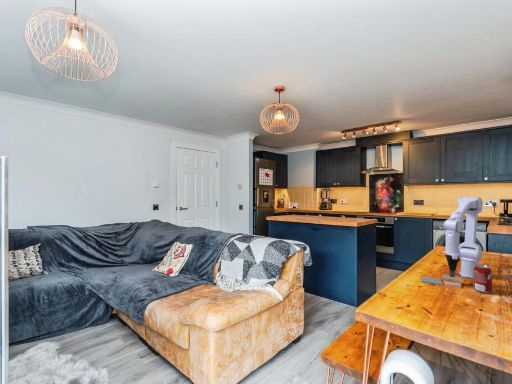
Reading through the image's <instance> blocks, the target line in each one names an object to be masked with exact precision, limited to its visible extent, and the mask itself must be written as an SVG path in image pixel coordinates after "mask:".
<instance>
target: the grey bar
mask: <svg viewBox="0 0 512 384" xmlns="http://www.w3.org/2000/svg"><path fill="white" fill-rule="evenodd" d="M441 277H442V279H444V280H446V279H447V280H451V281H458V282H462V281H463V277H462V276H458V275H456V270H455V271H450V270H449V274H443V273H442V274H441Z"/></svg>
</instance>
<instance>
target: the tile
mask: <svg viewBox="0 0 512 384" xmlns="http://www.w3.org/2000/svg"><path fill="white" fill-rule="evenodd" d="M443 282H444V284H445V286H446V287H448V288H457V289H462V284H461V283H460V281H458V280H450V279H447V280H446V279H444V281H443Z"/></svg>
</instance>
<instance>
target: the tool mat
mask: <svg viewBox="0 0 512 384" xmlns="http://www.w3.org/2000/svg"><path fill="white" fill-rule="evenodd" d="M419 278H420V280H421V283H422V284H423V283H424V284H429V285H430V284H431V285H438V286H443V282H442V279H441V278H437V277H428V276H421V275H420V277H419Z"/></svg>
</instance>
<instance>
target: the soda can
mask: <svg viewBox="0 0 512 384" xmlns="http://www.w3.org/2000/svg"><path fill="white" fill-rule="evenodd" d="M472 279H473V287H472V288H473V290H475V291H476V292H477V293H481V294H489V293H492V292H493V271H492V269H491V266H489V265H486V264H478V265H475V267H474V275H473V278H472Z"/></svg>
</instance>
